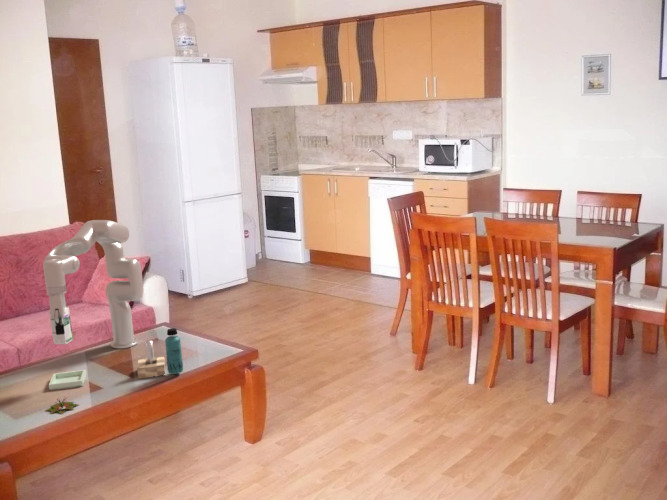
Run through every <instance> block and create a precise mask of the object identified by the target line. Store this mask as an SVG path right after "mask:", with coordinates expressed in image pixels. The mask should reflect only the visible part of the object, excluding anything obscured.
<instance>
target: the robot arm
mask: <svg viewBox="0 0 667 500" xmlns="http://www.w3.org/2000/svg"><path fill="white" fill-rule="evenodd" d="M129 237H130V230H129V228H128V227H127V225H125V224H123V223H119V222H116V221H113V220H110V219H109V220H108V219H93V220H87V221H86V222H85V223H84V224H83V225H82V227H80V228H79V230H78V231H77V232H76V233H75V235H74V236H73V237H72V238H70V239H67V240H65V241H64V242H62V243H60V244H57V245H56V246H54V247H53V248H52V249H51V250H50V251H49V252H48V254H47V255H46V256H45V258H44V260H43V264H42V266H43V267H42V268H43V273H44V274H43V275H44V282H45V283H44V284H45V290H46V295H47V296H48V298H49V299H48V300H49V311H50V313H51V319H53V318H54V316H55V329H56V335H61V334H64V333H65V331H64V324H63V320H62V318H63V317H64V314H65V307H67V301H66V298H65V297H66V296H65V295H66V293H67V292H68V291H67V284H66V277H65V276H67V275H70V274H74V273H77V271H78V270H79V268H80V265H81V262H80V260H79V258H78V257H77V256H81V255H83V254H85V253H88V252H89V251H90V249H92V247H93V246H94V244H95V243H96V242H97V243H98V244H99V245H100V246H101V247H102V249H103V251H104V252H103V253H104V258H105V266H106V267H105V268H106V274H107V275H108V278H111V279H127V280H113V281H110V282H108V283H107V284H106V286H105V294H106V298H107V301H108V305H109V312H110V320H111V321H110V322H111V328H112V337H113V341H112V342H111V343H110V347H111V348H113V349H119V350H120V349H127V348H131V347H134V346H137V344H138V343H139V341H138V339H137V338H135V333H134V326H133V317H132V309H131V306H130V303H129V302H138V301H140V300H142V298H143V296H144V284H143V283H144V282H143V281H144V280H143V272H142V266H141V262H139V260H137V259H136V258H132V257H131V258H130V257H129V258H128V257H127V258H126V257H125V254H124V253H125V252H124V247H123V245H122V244H124V243H126V242H128V240H129ZM59 314H60V315H61V317H59V316H60V315H59ZM59 319H61V321H60V320H59Z"/></svg>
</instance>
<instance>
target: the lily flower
mask: <svg viewBox="0 0 667 500" xmlns="http://www.w3.org/2000/svg"><path fill="white" fill-rule="evenodd" d="M66 399H67V397H66V396H64V397H63V399H62V400H60V398H59V397H57V398H56V401H57V402H56V401H55V402H54V404H53V405H51V407H48V408H47V409H46V410H44V411H47V412H48V411H50V414H53V413H55V412H57V413H59V414H61V415H62V414H64V413H65V412H66V411H68V410H75V409H74V408H75V407H77V406H79V405H80V404H77V403H74V401H67V400H66Z"/></svg>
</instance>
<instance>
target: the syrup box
mask: <svg viewBox="0 0 667 500" xmlns="http://www.w3.org/2000/svg"><path fill="white" fill-rule="evenodd" d="M70 313H71V312H70V308H69V306H66V307H65V314H64V317H63V318H62V320H63V324H64V331H65V333H64V334H61V335H56V329H55V316H54V318H53V319H51V313H50V310H48V314H49V315H48V316H49V321H50V330H51V335H52V341H53V344H54V345H67V344H68V343H71V342H72V341H74V333H73V329H72V328H73V327H72V321H71V314H70ZM59 315H60V314H59ZM59 317H61V315H60V316H59ZM59 320H60V321H61V319H59Z"/></svg>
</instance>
